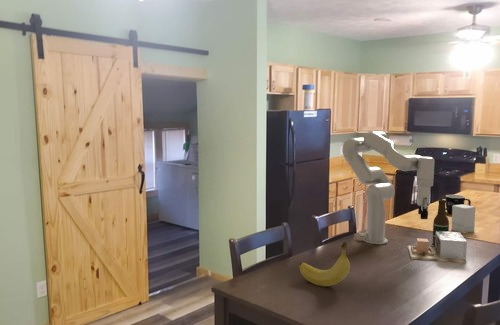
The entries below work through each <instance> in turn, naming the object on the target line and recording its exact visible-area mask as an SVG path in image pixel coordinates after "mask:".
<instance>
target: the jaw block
mask: <svg viewBox="0 0 500 325" xmlns="http://www.w3.org/2000/svg"><path fill="white" fill-rule="evenodd" d="M429 245H430V241H429V240H428V238H419V237H417V238H416V245H415V246H416V251H417V252H429V247H430V246H429Z"/></svg>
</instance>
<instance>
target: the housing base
mask: <svg viewBox="0 0 500 325" xmlns="http://www.w3.org/2000/svg"><path fill="white" fill-rule="evenodd" d="M407 249H408V253H409V257H410V259H411V260H421V261H424V260H425V261H437V262H447V263H458V264H459V263H461V264H467V259H466V260H460V259H448V258H440V249H438V248H435V247H434V246H433V247H432V246H429V252H417V251H416V245H407Z"/></svg>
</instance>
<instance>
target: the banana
mask: <svg viewBox="0 0 500 325" xmlns="http://www.w3.org/2000/svg"><path fill="white" fill-rule="evenodd" d="M348 245H349V244H348V242H347V241H343V242H342V244H341V245H340V248H341V253H340V256H339V257H338V258H337V259H336V261H335V263H334V264H333V265H332V266H331V268H329V269H325V270H324V269H319V268H317V267H314V266H312V265H311V264H308V263H306V262H300V263H299V265H298V266H299V272H300V274H301V276H302V277H303V278H304V279H305V280H307V281H308V283H309V282H310V283H311V284H313V285H316V286H319V287H331V286H335V285H337V284H339V283H340V282H342V281H343V280H345V279H346V277H347V276H348V275H349V273H350V271H351V264H350V261H349V260H350V259H348V257H347V254H346V250H347V248H348Z"/></svg>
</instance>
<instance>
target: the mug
mask: <svg viewBox="0 0 500 325" xmlns="http://www.w3.org/2000/svg"><path fill="white" fill-rule="evenodd" d="M441 199H442V200H446V203H445V211H446V212H447V213H448V212H450V213H449V214H451V213H452V206H453V205H461V204H463V205H465V201H467V204H468V206H472V205H471V203H472V202H471V199H469V198H465V196H463V195H461V194H446V195H445V197H440V198H439V200H441Z"/></svg>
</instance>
